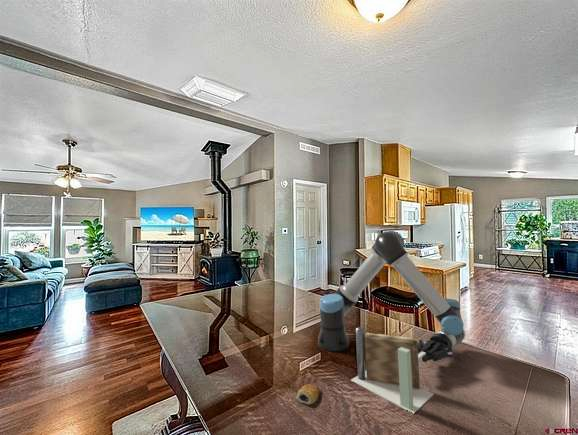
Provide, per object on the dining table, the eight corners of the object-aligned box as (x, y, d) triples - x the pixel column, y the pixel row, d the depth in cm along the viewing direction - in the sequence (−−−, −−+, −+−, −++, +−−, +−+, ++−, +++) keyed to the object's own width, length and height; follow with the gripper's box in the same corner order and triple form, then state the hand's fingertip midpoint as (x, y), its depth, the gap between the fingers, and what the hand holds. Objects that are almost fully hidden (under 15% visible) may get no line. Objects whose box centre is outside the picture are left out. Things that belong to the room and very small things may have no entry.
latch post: (400, 406, 85) (397, 349, 86) (404, 402, 86) (401, 347, 87) (409, 410, 83) (406, 352, 83) (413, 407, 84) (410, 350, 85)
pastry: (307, 386, 98) (307, 376, 98) (324, 392, 94) (323, 381, 94) (294, 401, 90) (294, 390, 90) (312, 408, 86) (312, 396, 86)
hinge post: (356, 378, 101) (354, 328, 102) (360, 375, 103) (358, 326, 103) (362, 381, 99) (360, 330, 100) (367, 378, 101) (364, 328, 101)
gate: (366, 378, 99) (364, 334, 100) (367, 376, 101) (365, 332, 101) (420, 388, 92) (417, 340, 93) (419, 386, 94) (417, 338, 94)
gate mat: (350, 380, 100) (350, 379, 100) (372, 367, 109) (372, 366, 109) (413, 414, 81) (413, 413, 81) (433, 394, 90) (433, 393, 90)
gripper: (460, 356, 107) (435, 379, 92) (427, 346, 117) (399, 365, 102) (459, 337, 107) (433, 357, 92) (426, 328, 117) (398, 345, 102)
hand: (416, 361), depth 97 cm, fingers closed
